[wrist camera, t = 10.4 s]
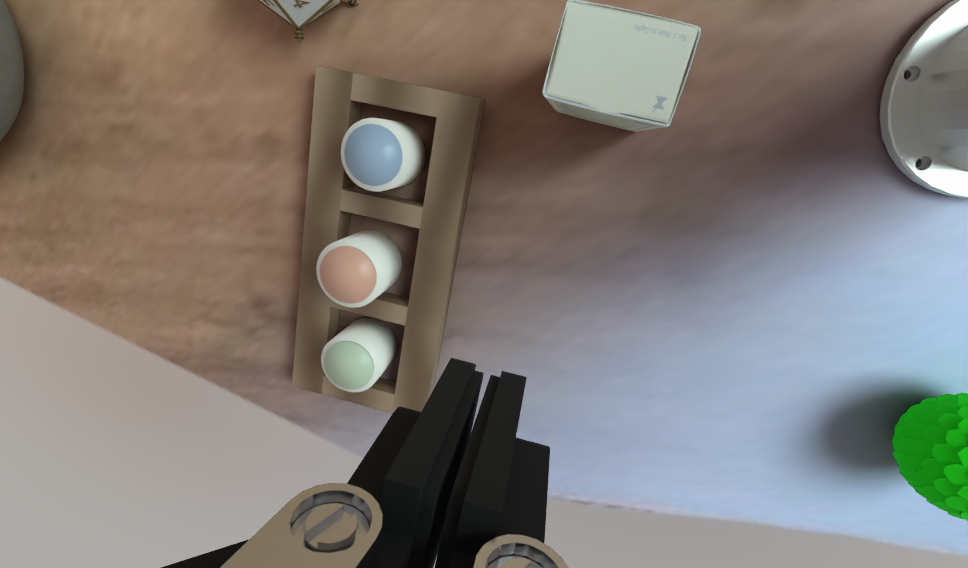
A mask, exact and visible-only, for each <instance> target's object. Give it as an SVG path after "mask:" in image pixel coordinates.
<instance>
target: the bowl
mask: <svg viewBox="0 0 968 568" xmlns="http://www.w3.org/2000/svg"><path fill="white" fill-rule="evenodd" d="M24 78H25V72H24V60H23V52H22V46H21V41H20V37H19V34H18V30H17V27H16V24H15V21H14V19H13V17H12V14H11V12H10V10H9V8H8V6H7V4H6V2H5V0H0V141H1V140H2V139H3V137H4V136H5V135H6V134H7V132H8V131H9V130H10V128H11V126H12V125H13V123H14V121H15V120H16V117H17V115H18V113H19V110H20V107H21V104H22V100H23V94H24Z"/></svg>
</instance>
